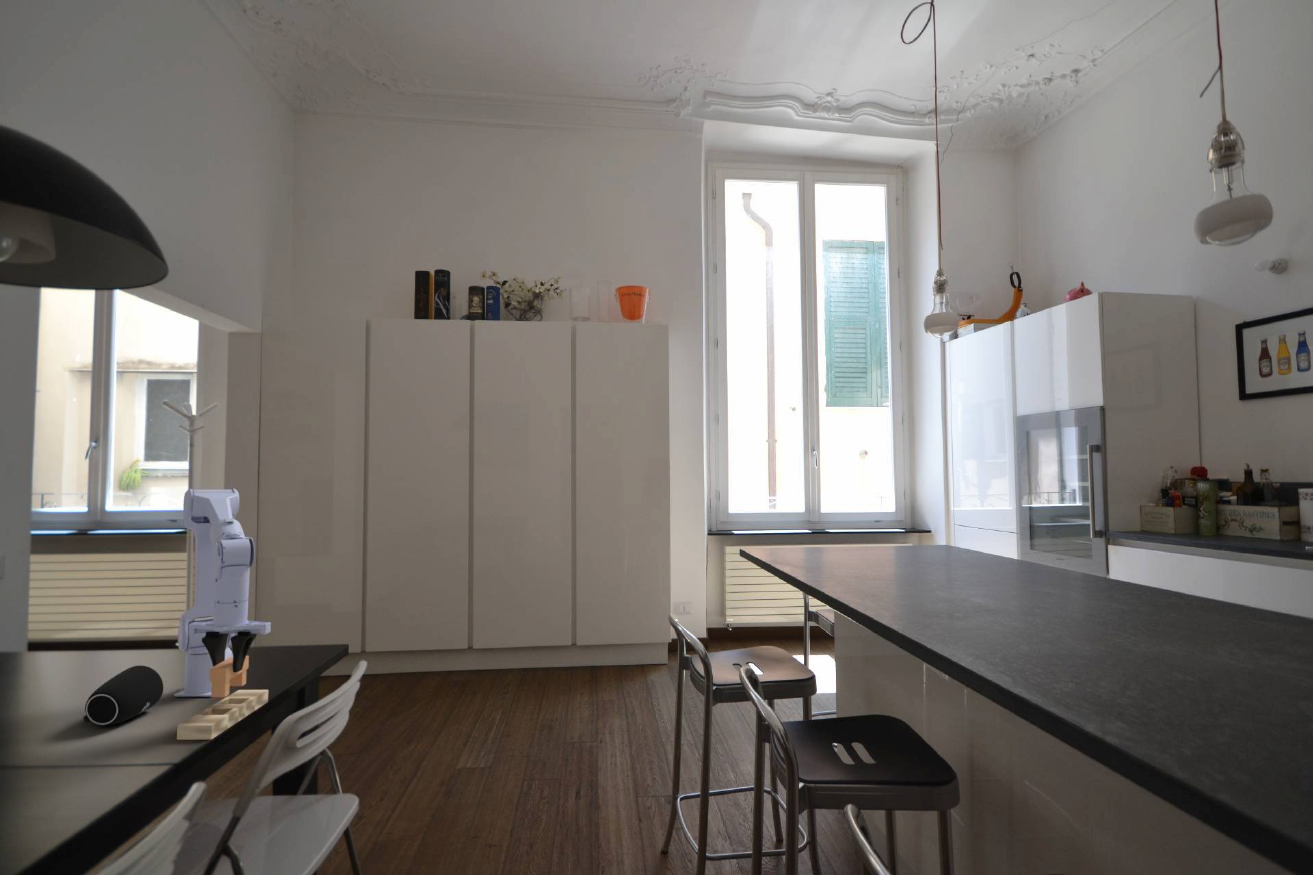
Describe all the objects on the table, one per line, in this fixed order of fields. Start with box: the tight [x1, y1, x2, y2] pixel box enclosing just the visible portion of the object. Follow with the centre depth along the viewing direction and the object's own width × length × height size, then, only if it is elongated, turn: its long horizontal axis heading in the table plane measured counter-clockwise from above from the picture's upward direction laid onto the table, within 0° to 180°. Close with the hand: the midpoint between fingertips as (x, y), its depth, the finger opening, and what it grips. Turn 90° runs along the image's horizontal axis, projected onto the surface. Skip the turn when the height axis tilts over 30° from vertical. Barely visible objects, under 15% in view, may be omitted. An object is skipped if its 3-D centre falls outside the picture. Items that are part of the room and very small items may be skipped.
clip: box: [210, 655, 250, 698], centre depth 133 cm, size 8×3×6 cm, turn 4°
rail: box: [176, 689, 269, 741], centre depth 132 cm, size 20×6×2 cm, turn 4°
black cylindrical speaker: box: [82, 664, 164, 727], centre depth 131 cm, size 12×9×10 cm
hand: (228, 670), depth 133 cm, fingers closed on clip, 3 cm apart
